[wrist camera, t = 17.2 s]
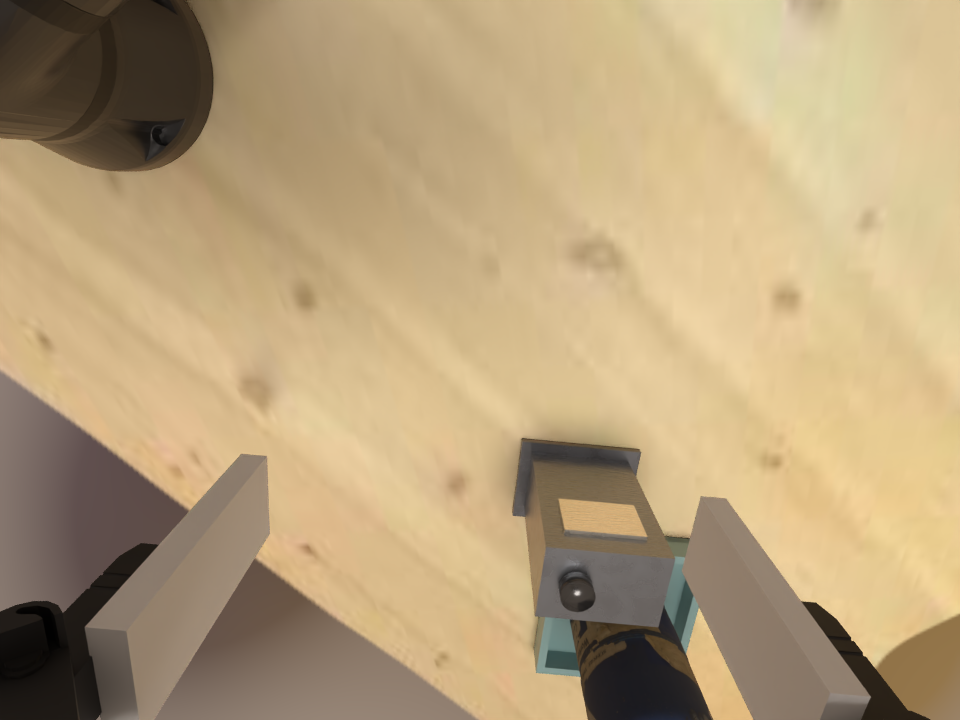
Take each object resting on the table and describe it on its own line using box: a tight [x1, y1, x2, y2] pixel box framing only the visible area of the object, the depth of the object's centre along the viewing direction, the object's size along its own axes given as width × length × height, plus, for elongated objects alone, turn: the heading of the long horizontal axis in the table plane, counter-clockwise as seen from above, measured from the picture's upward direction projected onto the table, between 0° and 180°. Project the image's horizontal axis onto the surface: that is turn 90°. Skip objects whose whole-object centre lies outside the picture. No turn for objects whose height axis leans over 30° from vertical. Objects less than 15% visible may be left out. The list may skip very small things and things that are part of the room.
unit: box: [513, 439, 675, 627], centre depth 45 cm, size 11×8×16 cm
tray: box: [534, 536, 699, 677], centre depth 55 cm, size 15×16×3 cm
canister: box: [570, 606, 713, 720], centre depth 47 cm, size 10×10×18 cm
